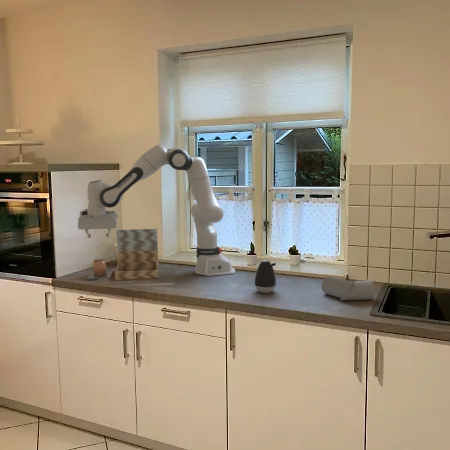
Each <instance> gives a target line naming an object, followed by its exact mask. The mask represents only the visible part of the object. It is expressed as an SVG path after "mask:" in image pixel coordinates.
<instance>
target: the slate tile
mask: <svg viewBox="0 0 450 450" xmlns="http://www.w3.org/2000/svg"><path fill="white" fill-rule="evenodd" d="M112 274H113V271H111V270H110V271H106V275H105V276H94V271H91V272H89V274H88V275H87V277H86V281H98V280H99V279H110V278H111V277H112Z"/></svg>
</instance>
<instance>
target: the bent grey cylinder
mask: <svg viewBox="0 0 450 450" xmlns="http://www.w3.org/2000/svg"><path fill="white" fill-rule="evenodd" d="M321 290H322V292H323V293H324V294H326V295H327V296H332V297H335V298H338V299H340V300H339V301H341V302H342V301H370V300H373V299H374V297H375V286H374V283H373V281H372V280H356V281H354V282H352V281H349V280H345V279H343V278H339V277H334V276H331V275H329V276H328V275H327V276H326V277H324V279H323V280H322V283H321Z"/></svg>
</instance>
